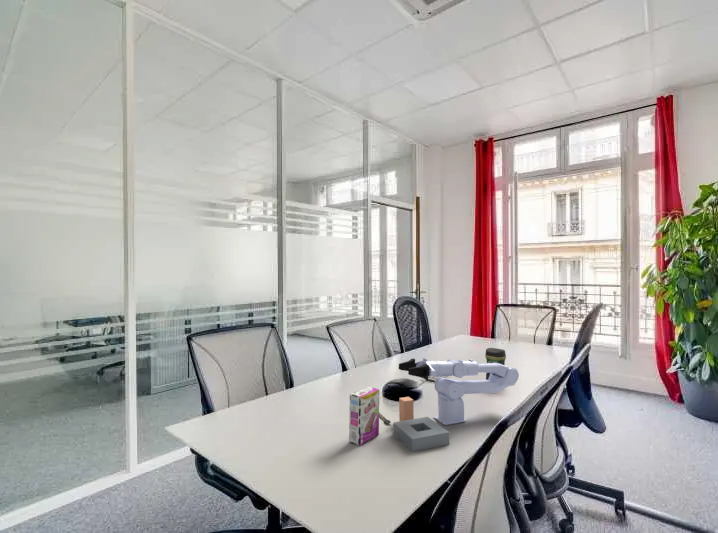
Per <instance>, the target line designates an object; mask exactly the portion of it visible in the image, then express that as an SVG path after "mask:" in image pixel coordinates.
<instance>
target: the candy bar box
mask: <svg viewBox="0 0 718 533" xmlns="http://www.w3.org/2000/svg"><path fill="white" fill-rule="evenodd" d="M379 413H380V389H379V388H376V387H375V388H374V387H371V386H367V387H365V388H363V389H360V390H358V391H354V392H353V393H349V428H348V429H349V435H348V436H349V438H348V442H349V443H351V444H354V445H356V446H357V447H361V446H362V445H364V444H365V443H367V442H370V440H373V439H374V438H376V437H378V436H379V435H380V417H379Z"/></svg>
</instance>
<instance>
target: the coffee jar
mask: <svg viewBox="0 0 718 533" xmlns="http://www.w3.org/2000/svg"><path fill="white" fill-rule="evenodd" d="M484 356H485V359H486V360H485V361H486V363H500V364H502V365H505V366H506V364H505V362H506V358H507V355H506V351H505V349H503V348H502V349H501V348H494V347H488V348H486V349H485V355H484ZM489 376H490V373H485V380H488V378H489Z"/></svg>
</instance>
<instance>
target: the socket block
mask: <svg viewBox="0 0 718 533" xmlns="http://www.w3.org/2000/svg"><path fill="white" fill-rule="evenodd" d="M392 424H393V428H392V429H393V432H392V433H393V435H394V436H395V438H397V439H398V440H399V441H400V442H402V443H403V444H404V446H406V447H407V448H408V449H409V450H410V451H411V452H417V451H423V450H426V449H427V450H428V449H432V448H437V447H441V446H442V447H443V446H448V445H450V431H449V430H447V429H445V428H444V427H443V426H442V425H440V424H438V423H437V422H435V421H434V420H432V419H431V418H430V417H429V416H424V417H418V418H414V419H411V420H405V421H399V420H398V421H394V422H393V423H392Z"/></svg>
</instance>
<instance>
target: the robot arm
mask: <svg viewBox="0 0 718 533" xmlns="http://www.w3.org/2000/svg"><path fill="white" fill-rule="evenodd" d="M398 370H400V371H404V372H405V371H406V372H408V373H407V374H408V375H409V376H413V377H417V378H421V379H424V380H426V381H428V380H429V377H430V378H431V377H438V378H437V379H436V380H435V382H434V389H435V391H436V392H437V399H438V400H437V402H438V403H437V404H438V405H437V408H438V409H437V410H438V412H437V415H435V416H433V419H435V420H437V422H440V423H441V424H442V425H444V426H449V425H453V424H459V423H464V422H466V419H465V403H464V400H463V397H464V396H465V395H475V394H497V393H500V392H502V391H504V390H505V389H507V388H508V387H510V386H511V387H512V386H515V385H516V383H517V382H518V380H519V376H520V372H519V370H518V369H517V368H515V367H510V366H508V365H506V364H505V365H502V364H500V363H487V362H486V363H478V362H477V361H476V360H474V359H471V358H469V359H468V360H463V359H458V361H457V360H454V359H452V358H450V359H448V360H428V358H426V357H423V358H422V360H420V361H416V359H415V358H414V357H413V358H410V359H409V360H408V361H407V360H406V361H404V362H401V363H398ZM479 373H485V374H486V373H490V376H489V378H488V380H486V379H473V380H472V379H471V380H469V379H468V380H467V379H466V380H456V379H452V378H447V377H455V378H459V379H462V378H463V377H466V376H475V377H476V376H478V375H479Z"/></svg>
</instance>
